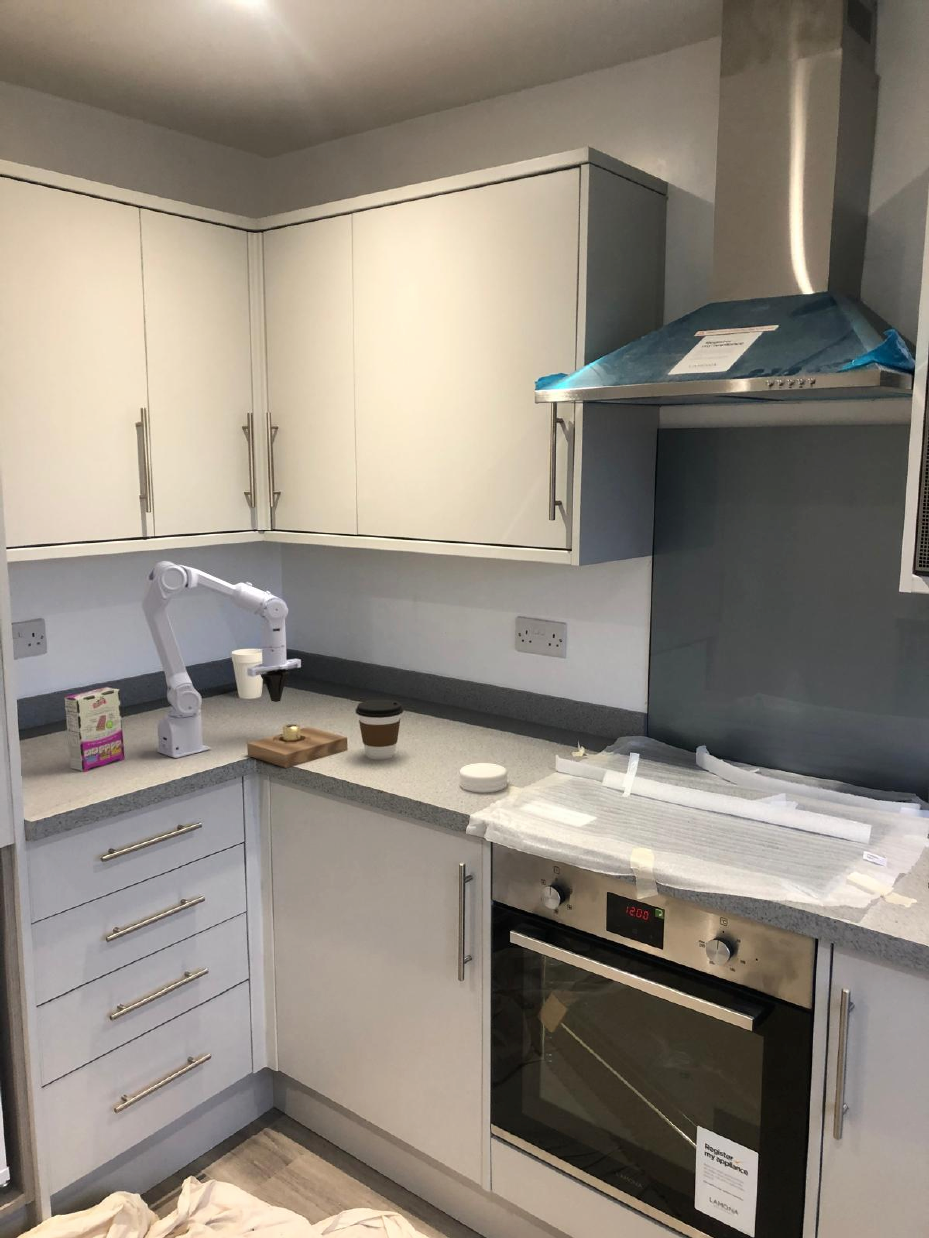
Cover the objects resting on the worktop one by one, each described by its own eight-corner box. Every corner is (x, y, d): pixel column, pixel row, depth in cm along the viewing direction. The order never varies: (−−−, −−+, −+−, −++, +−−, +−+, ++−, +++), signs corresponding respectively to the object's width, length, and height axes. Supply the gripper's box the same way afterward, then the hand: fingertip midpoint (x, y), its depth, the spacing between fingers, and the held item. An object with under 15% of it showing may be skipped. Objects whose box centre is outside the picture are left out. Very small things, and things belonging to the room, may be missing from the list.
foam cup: (273, 693, 282) (271, 649, 280) (255, 701, 273) (253, 655, 271) (245, 691, 285) (243, 647, 283) (226, 698, 277) (224, 653, 275)
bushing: (291, 754, 223) (290, 729, 222) (279, 751, 226) (278, 726, 225) (304, 750, 226) (303, 725, 225) (293, 747, 229) (292, 722, 228)
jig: (285, 767, 213) (285, 754, 213) (247, 755, 223) (247, 742, 222) (347, 749, 227) (347, 737, 226) (308, 738, 236) (308, 726, 235)
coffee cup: (401, 747, 228) (401, 697, 227) (406, 761, 218) (406, 709, 216) (355, 749, 227) (354, 699, 225) (357, 764, 216) (356, 711, 214)
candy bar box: (110, 755, 222) (106, 686, 220) (125, 759, 220) (121, 688, 217) (68, 768, 213) (63, 696, 210) (82, 772, 210) (77, 699, 208)
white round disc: (496, 796, 196) (496, 779, 195) (451, 789, 199) (451, 773, 199) (514, 781, 205) (514, 765, 204) (470, 775, 209) (470, 759, 208)
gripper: (259, 652, 224) (261, 709, 227) (308, 643, 235) (309, 698, 237) (241, 648, 229) (243, 704, 231) (289, 640, 240) (291, 693, 242)
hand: (275, 700), depth 235 cm, fingers closed
